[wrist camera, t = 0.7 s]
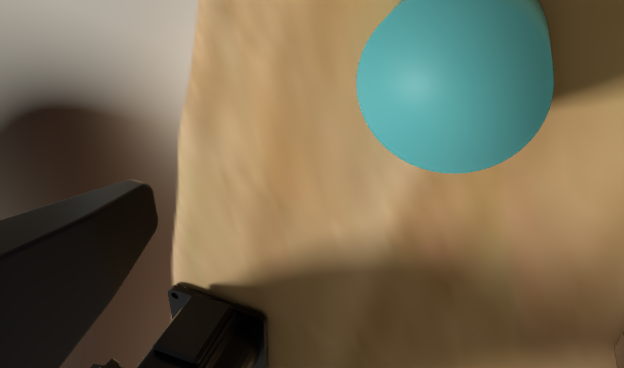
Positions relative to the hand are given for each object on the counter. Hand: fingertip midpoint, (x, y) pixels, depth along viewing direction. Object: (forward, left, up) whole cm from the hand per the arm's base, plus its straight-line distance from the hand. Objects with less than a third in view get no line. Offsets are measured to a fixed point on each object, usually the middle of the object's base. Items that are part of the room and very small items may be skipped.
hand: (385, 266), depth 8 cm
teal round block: (0, 0, -12) cm, 12 cm away
